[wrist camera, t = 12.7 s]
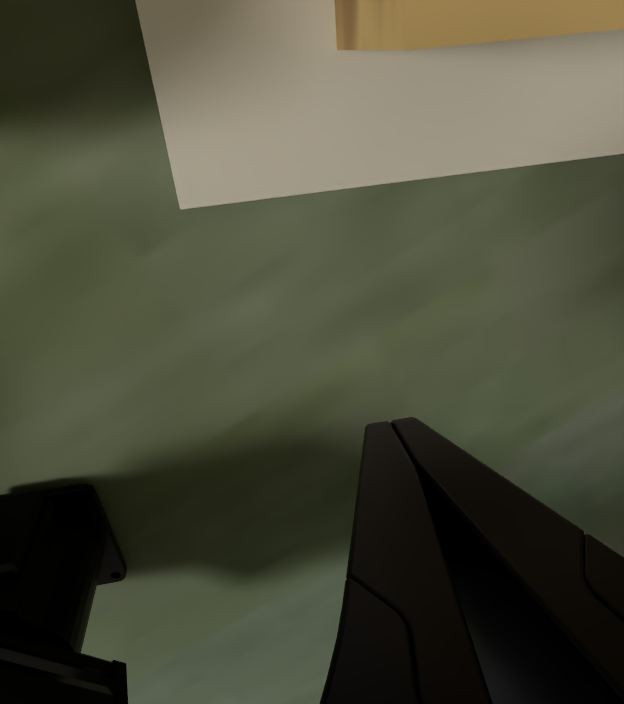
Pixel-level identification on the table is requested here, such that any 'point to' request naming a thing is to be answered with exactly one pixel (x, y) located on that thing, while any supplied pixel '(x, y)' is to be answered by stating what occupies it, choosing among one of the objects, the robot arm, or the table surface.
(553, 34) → the taped shipping carton
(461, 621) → the robot arm
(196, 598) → the table surface
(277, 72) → the base board
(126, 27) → the table surface
